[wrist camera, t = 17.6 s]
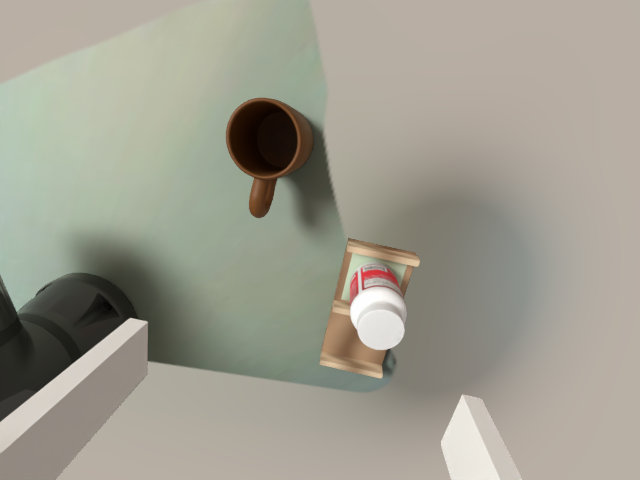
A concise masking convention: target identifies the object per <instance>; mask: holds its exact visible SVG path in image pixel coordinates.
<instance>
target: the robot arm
mask: <svg viewBox="0 0 640 480" xmlns="http://www.w3.org/2000/svg"><path fill="white" fill-rule="evenodd" d="M147 355H148V322H146V321H142V320H138V319H137V318H136V314H135V312H134V309H133V307H132V305H131V304H130V302H129V301H128V299H127V298H126V297H125V296H124V294H123V293H122V292H121V291H120V290H119V289H117V288H116V287H115V286H114V285H112V284H111V283H109V282H108V281H106V280H104V279H102V278H100V277H97V276H94V275H91V274H86V273H72V274H67V275H64V276H62V277H60V278H58V279H56V280H54V281H52V282H50V283H48V284H46V285H45V286H44V287H43V288H41V289H40V290H39V292H38V293H37V294H36V296H35V297H34V298H33V299H31V300H30V301H29V302H28V303H26V304H25V305H24V306H23V307H22V308H21V309H20V310H19V311H18V312H16V310H15V307H14V305H13V303H12V301H11V298H10V296H9V294H8V292H7V290H6V287H5V285H4V283H3V280H2V278H1V275H0V480H55V479H56V478H57V477H58V476H59V475H60V474H61V473H62V472H63V470H64V469H65V468H66V467H67V466H68V465H69V464H70V462H71V461H72V460H73V459H74V457H76V455H77V454H78V453H79V452H80V451H81V450H82V448H83V447H84V446H85V445H86V444H87V443H88V442H89V441H90V439H91V438H92V437H93V436H94V435H95V433H97V431H98V430H99V429H100V428H101V427H102V426H103V424H104V423H105V422H106V421H107V420H108V419H109V418H110V416H111V415H112V414H113V413H114V412H115V410H116V409H117V408H118V407H119V406H120V405H121V404H122V403H123V402H124V400H125V399H126V398H127V397H128V396H129V395H130V393H131V392H132V391H133V390H134V389H135V388H136V387H137V385H138V384H139V383H140V382H141V381H142V380H143V379H144V377H145V376H146V375H147ZM441 447H442V450H443V453H444V457H445V460H446V463H447V467H448V470H449V474H450V477H451V480H522V478H521V476H520V474H519V472H518V470H517V468H516V466H515V464H514V462H513V460H512V458H511V456H510V454H509V452H508V450H507V448H506V446H505V444H504V442H503V440H502V438H501V436H500V434H499V432H498V430H497V428H496V427H495V424H494V423H493V420H492V419H491V417H490V415H489V413H488V411H487V409H486V407H485V405H484V403H483V401H482V399H481V398H476V397H472V396H468V395H463V394H462V397H461V399H460V401H459V403H458V406H457V408H456V410H455V412H454V414H453V417H452V419H451V421H450V424H449V426H448V428H447V430H446V432H445V434H444V437H443V439H442V441H441Z"/></svg>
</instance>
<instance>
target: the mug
mask: <svg viewBox="0 0 640 480" xmlns="http://www.w3.org/2000/svg"><path fill="white" fill-rule="evenodd" d="M226 143H227V148H228V151H229V153H230V156H231V158H232V159H233V161H234V162H235V164H236V165H237V166H238V167H239V168H240V169H241V170H242V171H243V172H245V173H246V174H248V175H250V176H252V177H254V181H253V185H252V189H251V193H250V200H249V209H250V212H251V214H252V215H253V216H254V217H256V218H261V217H264V216H265V215H266V214H267V213H268V211H269V209H270V206H271V203H272V200H273V196H274V190H275V185H276V181H277V178H280V177H283V176H286V175H288V174H290V173H291V172H293V171H295V170H296V169H298V168H300V167H301V166H302V165H303V164H304V163H305V162H306V161H307V160H308V158H309V156H310V154H311V152H312V148H313V133H312V129H311V127H310V125H309V123H308V121H307V120H306V118H305V117H304V116H303V115H302V114H301V113H299V112H298V111H297V110H295V109H293V108H292V107H290V106H289V105H287V104H285V103H283V102H281V101H278V100H275V99H269V98H255V99H251V100H248V101H246V102H244V103H243V104H241V105H240V106H239V107H238V108H237V109H236V110H235V111H234V112H233V114H232V116H231V117H230V120H229V122H228V125H227V130H226Z"/></svg>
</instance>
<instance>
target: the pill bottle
mask: <svg viewBox="0 0 640 480" xmlns="http://www.w3.org/2000/svg"><path fill="white" fill-rule="evenodd" d="M350 317H351V321H352V323H353V325H354V327H355V328H356V329H357V332H358V336H359V338H360V340H361V341H362V342H363V343H364V344H365V345H366V346H368V347H370V348H372V349H376V350H386V349H390V348H392V347H394V346H396V345H397V344H398V343H399V342H400V341H401V340H402V338H403V336H404V332H405V327H404V324H405V322H406V319H407V309H406V304H405V302H404V298H403V295H402V292H401V290H400V287H399V284H398V281H397V278H396V276H395V274H394V272H393V271H392V270H391V269H390V268H389V267H388V266H386V265H384V264H382V263H378V262H369V263H365V264H363V265H361V266H359V267H358V268H357V269H356V270H355V271H354V272H353V274H352V276H351V279H350Z"/></svg>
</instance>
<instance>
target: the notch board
mask: <svg viewBox="0 0 640 480" xmlns="http://www.w3.org/2000/svg"><path fill="white" fill-rule="evenodd" d="M369 262H378V263H382V264H384V265H386V266H388V267H389V268H390V269H391V270H392V271H393V272H394V274H395V276H396V278H397V281H398V284H399V287H400V290H401V292H402V295H403V298H404V295H405V292H406V288H407V286H408V283H409V279H410V276H411V273H412V270H413V267H414V266H415V267H418V266H419V263H420V260H419V258H418V257H417V255H416V253H414V252H410V251H405V250H400V249H396V248H391V247H386V246H382V245H377V244H373V243H368V242H364V241H359V240H354V239H350V238H348V242H347V246H346V250H345V255H344V259H343V263H342V267H341V271H340V275H339V280H338V284H337V288H336V292H335V296H334V300H333V305H332V309H331V313H330V317H329V321H328V325H327V329H326V334H325V338H324V342H323V346H322V350H321V357H320V365H325V366H329V367H333V368H338V369H342V370H346V371H351V372H355V373H359V374H364V375H368V376H372V377H377V378H382V375H383V371H382V363H383V360H384V357H385V354H386V350H387V349H386V350H376V349H372V348H370V347H368V346H366V345H365V344H364V343H363V342H362V341H361V340H360V338H359V336H358V332H357V329H356V328H355V327H354V325H353V323H352V321H351V317H350V279H351V276H352V274H353V272H354V271H355V270H356V269H357V268H358V267H359V266H361V265H363V264H365V263H369Z"/></svg>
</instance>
